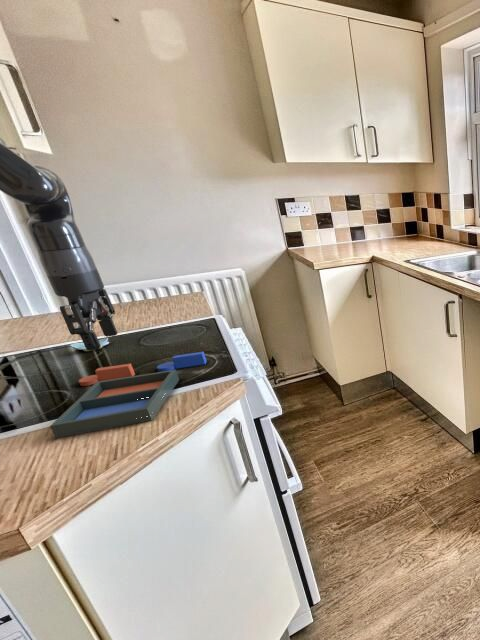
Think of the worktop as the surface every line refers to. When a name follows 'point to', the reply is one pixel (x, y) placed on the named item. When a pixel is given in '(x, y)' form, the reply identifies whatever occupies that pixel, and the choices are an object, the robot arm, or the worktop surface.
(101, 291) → the robot arm
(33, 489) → the worktop surface
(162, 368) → the blue spoon
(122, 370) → the red long piece
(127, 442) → the worktop surface
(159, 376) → the sorting tray
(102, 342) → the pacifier
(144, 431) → the worktop surface
